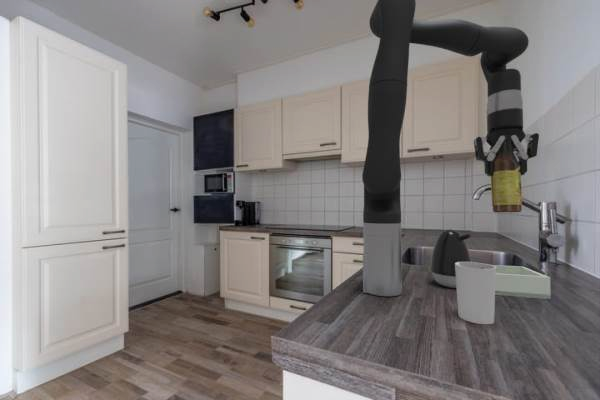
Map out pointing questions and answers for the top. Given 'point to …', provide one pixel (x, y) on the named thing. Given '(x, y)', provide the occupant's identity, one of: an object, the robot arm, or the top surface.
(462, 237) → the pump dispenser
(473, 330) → the top surface
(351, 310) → the top surface
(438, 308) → the top surface
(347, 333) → the top surface
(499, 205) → the sauce bottle
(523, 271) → the bin
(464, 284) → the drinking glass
